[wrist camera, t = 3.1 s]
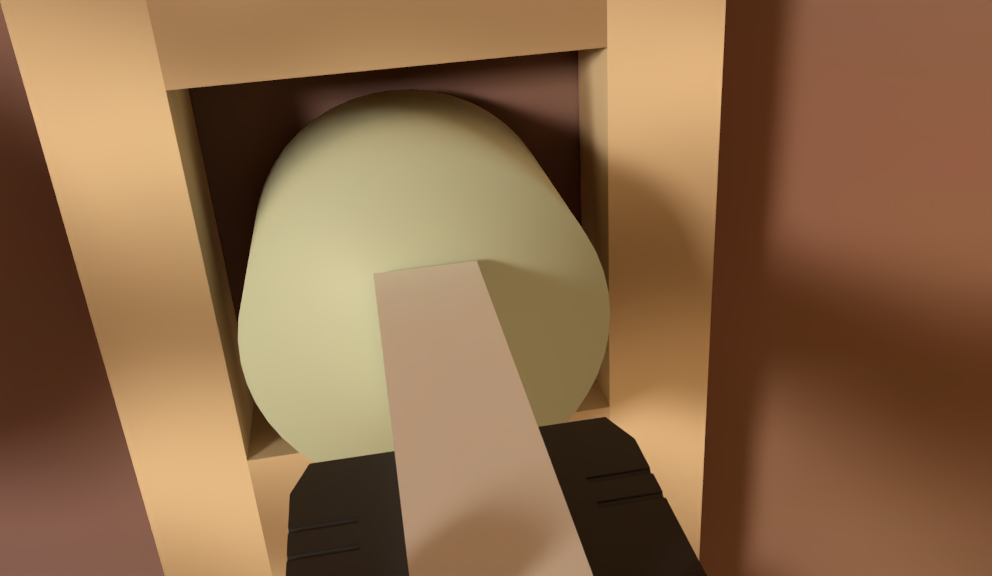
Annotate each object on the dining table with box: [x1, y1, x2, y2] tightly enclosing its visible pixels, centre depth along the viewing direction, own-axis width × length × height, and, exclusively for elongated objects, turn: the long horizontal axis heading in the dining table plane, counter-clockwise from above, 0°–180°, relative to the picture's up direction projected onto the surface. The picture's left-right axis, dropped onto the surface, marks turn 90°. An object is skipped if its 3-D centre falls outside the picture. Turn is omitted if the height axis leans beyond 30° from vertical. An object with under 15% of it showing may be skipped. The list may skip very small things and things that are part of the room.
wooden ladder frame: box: [0, 0, 726, 576], centre depth 17 cm, size 30×11×2 cm, turn 3°
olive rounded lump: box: [238, 89, 610, 463], centre depth 16 cm, size 6×6×4 cm
